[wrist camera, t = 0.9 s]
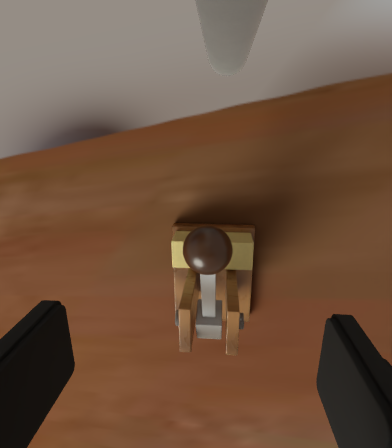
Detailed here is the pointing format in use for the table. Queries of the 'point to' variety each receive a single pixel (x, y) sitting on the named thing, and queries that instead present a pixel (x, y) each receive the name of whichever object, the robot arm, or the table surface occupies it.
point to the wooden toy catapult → (225, 290)
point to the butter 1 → (179, 249)
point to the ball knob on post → (208, 274)
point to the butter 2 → (241, 251)
